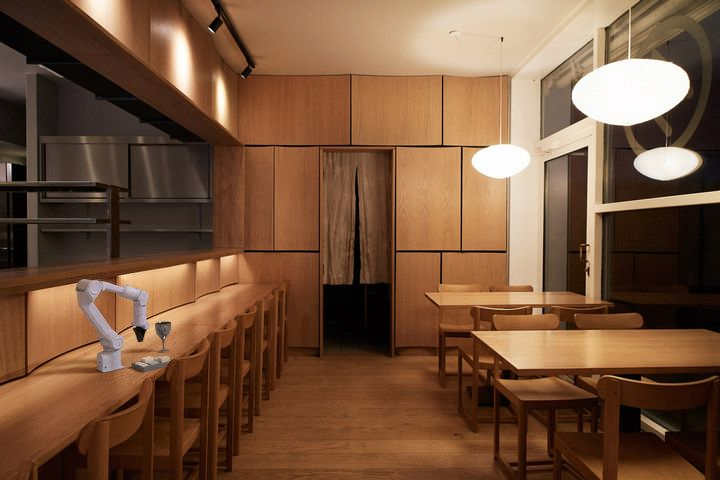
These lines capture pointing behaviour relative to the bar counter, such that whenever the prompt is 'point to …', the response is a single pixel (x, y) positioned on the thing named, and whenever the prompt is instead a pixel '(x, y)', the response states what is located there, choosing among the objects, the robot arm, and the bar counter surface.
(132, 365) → the keyguard
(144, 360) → the key cream
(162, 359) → the key sand
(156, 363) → the key slate
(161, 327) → the wine glass
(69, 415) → the bar counter surface
